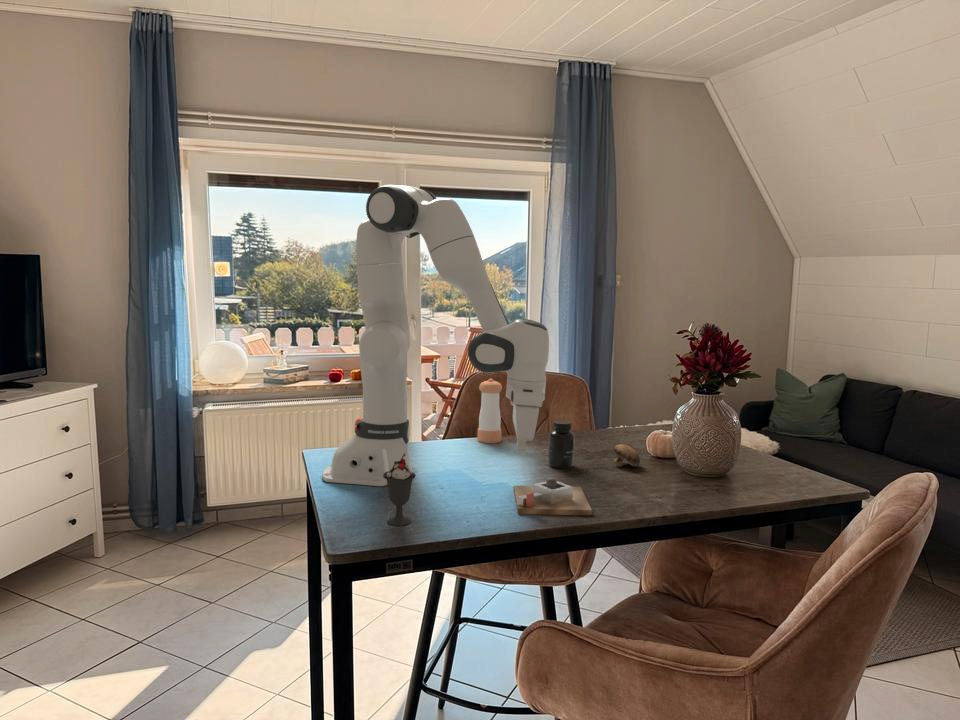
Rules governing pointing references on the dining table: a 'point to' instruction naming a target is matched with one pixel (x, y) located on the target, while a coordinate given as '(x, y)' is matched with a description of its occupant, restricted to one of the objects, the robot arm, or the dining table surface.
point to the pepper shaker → (489, 412)
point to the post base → (571, 507)
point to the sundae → (399, 489)
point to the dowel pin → (529, 499)
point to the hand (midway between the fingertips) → (520, 450)
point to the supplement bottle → (561, 445)
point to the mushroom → (626, 456)
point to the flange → (549, 494)
